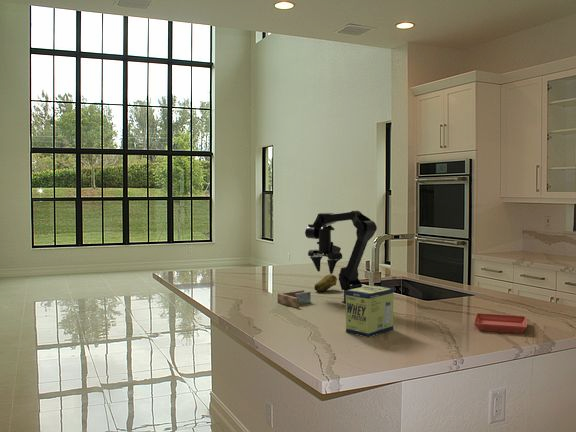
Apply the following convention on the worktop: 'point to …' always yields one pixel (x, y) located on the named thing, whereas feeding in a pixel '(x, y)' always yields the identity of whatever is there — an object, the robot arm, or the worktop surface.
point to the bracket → (304, 297)
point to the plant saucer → (500, 322)
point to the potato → (325, 283)
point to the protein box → (369, 310)
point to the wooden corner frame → (289, 298)
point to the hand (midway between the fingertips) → (324, 272)
